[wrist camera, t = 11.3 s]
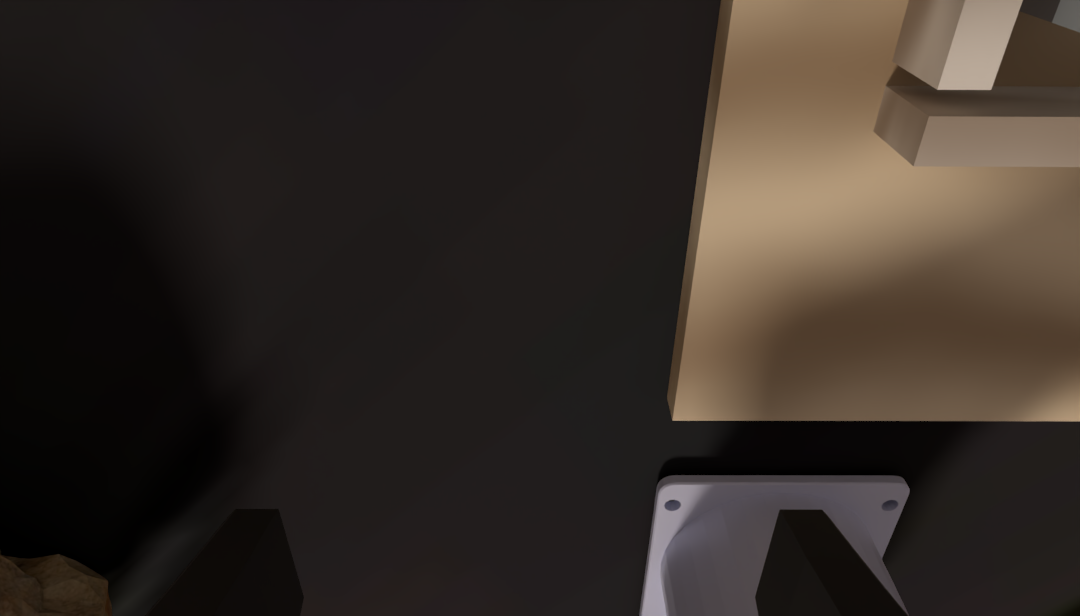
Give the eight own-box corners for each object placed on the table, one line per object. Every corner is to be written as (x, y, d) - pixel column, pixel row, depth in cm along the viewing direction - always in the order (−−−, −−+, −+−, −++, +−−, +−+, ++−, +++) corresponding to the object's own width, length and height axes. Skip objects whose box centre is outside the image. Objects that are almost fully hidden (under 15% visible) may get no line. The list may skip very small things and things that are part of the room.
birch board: (1135, 398, 21) (1216, 473, 19) (667, 397, 21) (684, 472, 19) (1661, -467, 11) (1980, -553, 9) (785, -476, 11) (857, -566, 9)
